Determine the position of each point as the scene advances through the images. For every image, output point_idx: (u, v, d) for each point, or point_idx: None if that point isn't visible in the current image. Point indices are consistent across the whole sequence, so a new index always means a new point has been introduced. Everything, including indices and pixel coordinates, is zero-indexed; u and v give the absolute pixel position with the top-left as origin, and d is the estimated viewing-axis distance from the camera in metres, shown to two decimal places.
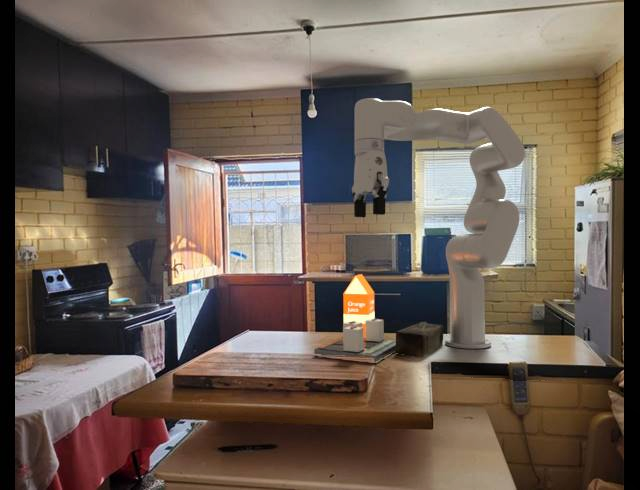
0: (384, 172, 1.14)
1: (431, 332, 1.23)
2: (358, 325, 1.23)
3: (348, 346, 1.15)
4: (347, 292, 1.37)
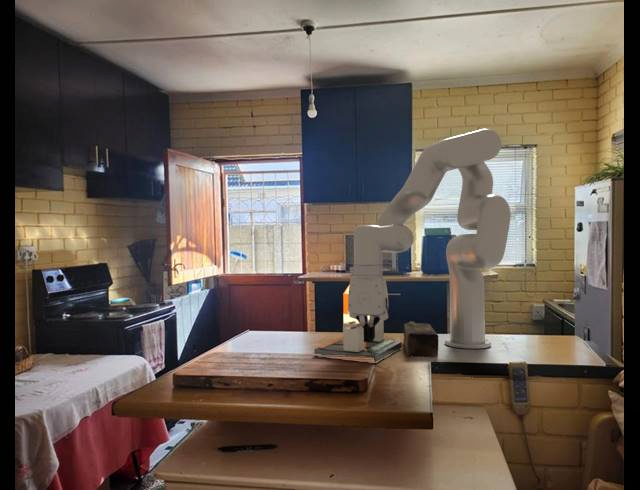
0: None
1: (434, 331, 1.24)
2: (358, 325, 1.23)
3: (348, 346, 1.15)
4: (347, 292, 1.37)
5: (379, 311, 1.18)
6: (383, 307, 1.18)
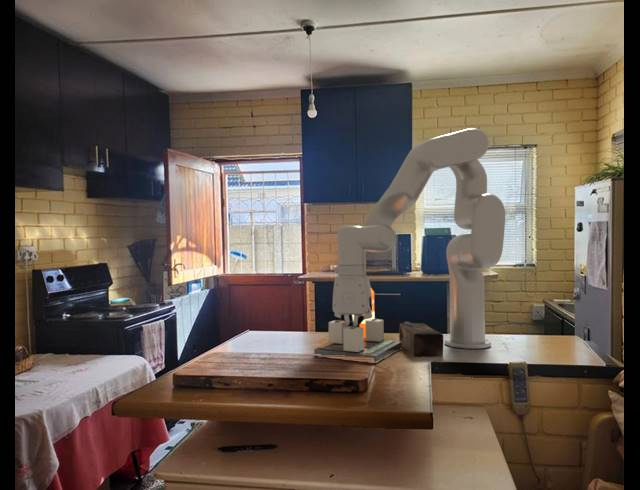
0: None
1: None
2: (343, 324, 1.25)
3: (348, 346, 1.15)
4: None
5: (363, 310, 1.20)
6: (367, 306, 1.20)
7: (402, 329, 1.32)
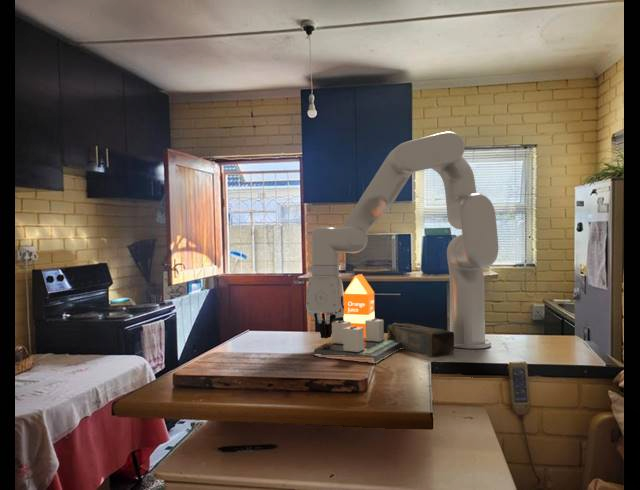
0: None
1: None
2: (347, 324, 1.25)
3: (348, 346, 1.15)
4: (347, 292, 1.37)
5: (334, 309, 1.24)
6: (338, 305, 1.24)
7: (396, 330, 1.30)
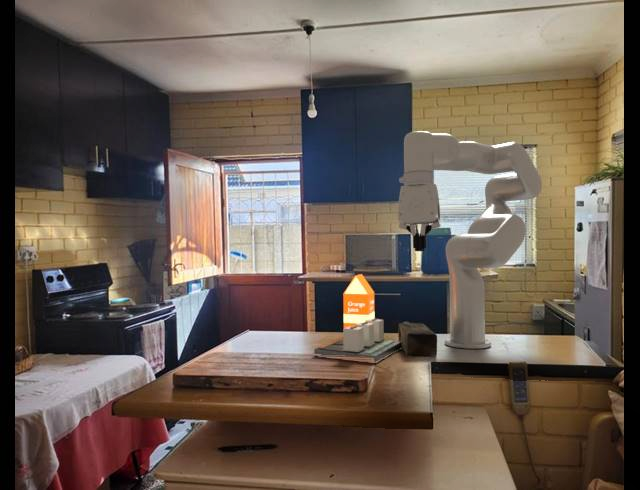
0: None
1: (431, 331, 1.25)
2: (370, 326, 1.21)
3: (348, 346, 1.15)
4: (347, 292, 1.37)
5: (432, 217, 1.15)
6: (436, 213, 1.15)
7: (400, 329, 1.33)
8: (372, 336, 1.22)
